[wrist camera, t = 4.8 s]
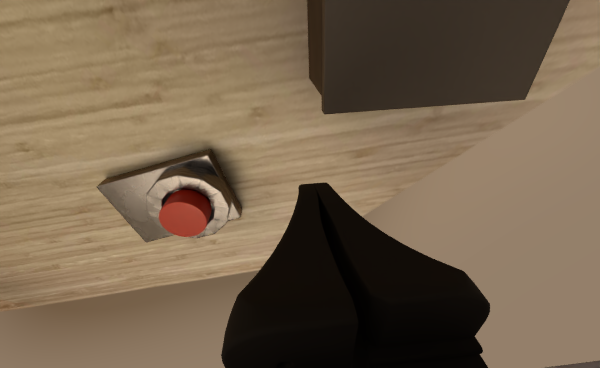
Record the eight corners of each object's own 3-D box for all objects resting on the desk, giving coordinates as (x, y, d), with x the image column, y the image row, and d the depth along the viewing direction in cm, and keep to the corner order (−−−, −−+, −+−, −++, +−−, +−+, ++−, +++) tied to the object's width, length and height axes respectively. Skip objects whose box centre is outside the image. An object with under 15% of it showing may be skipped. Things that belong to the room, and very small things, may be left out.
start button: (199, 184, 19) (193, 197, 18) (218, 217, 21) (214, 230, 20) (158, 195, 20) (148, 209, 18) (181, 227, 21) (174, 241, 20)
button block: (213, 147, 20) (205, 163, 18) (244, 208, 24) (241, 229, 22) (105, 178, 21) (81, 198, 19) (151, 233, 25) (137, 256, 22)
